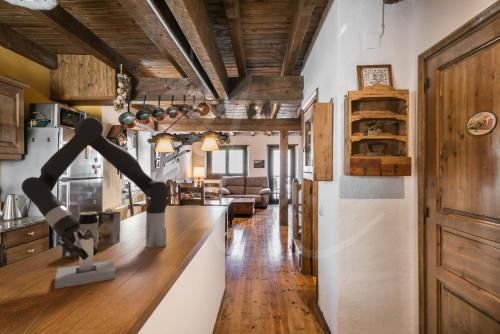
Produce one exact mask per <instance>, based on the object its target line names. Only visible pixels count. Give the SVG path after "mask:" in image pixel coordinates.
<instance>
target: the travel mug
mask: <svg viewBox="0 0 500 334" xmlns="http://www.w3.org/2000/svg"><path fill="white" fill-rule="evenodd" d="M97 214H98V212H97V211H82V212H80V213H79V219H78V222H79V223H80V228H81V229H82V230H83V231H87V230H88V229H89V230H91V232H92V234H93V236H94V238H95V242H94V246H95V248H96V249H97V250H98V225H99V218H98V217H97Z"/></svg>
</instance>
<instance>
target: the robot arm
mask: <svg viewBox="0 0 500 334" xmlns="http://www.w3.org/2000/svg"><path fill="white" fill-rule="evenodd" d="M73 131H74V135H73V136H72V137H71V139H69V140H68V141H67V142H66V143H65V144H64V145H63V146H62V147H61V148H59V149H58V150H57V151H56V152H55V153H54V154H53V155H51V156H50V158H49V159H47V161H46V162H45V163H44V164H43V165H42V167H41V168H40V175H39V177H37V176H30V177H27V178H25V180H23V181H22V184H21V191H22V192H23V193H24V195H26V197H27V198H28V199H29V200H30V201H31V202H32V203H33V204H34V205H35V206H36V208H37V209H38V211H39V213H41V215H42V216H43V217H44V219H45V220H46V222H47V223H48V225H50V227H51V229H53V231H54V232H55V233H56V234H57V235H58V237H59V238H60V239H59V240H58V241H57V244H58V245H59V246H61V247H63V248H65V249H66V250H67V251H68V252H70V253H72V252H75V253H77V254H78V255H77V256H78V257H79V256H80V257H81V258H82V259H83V260H85V259H86V258H87V257H88V256H89V255H88V254H87V253H86V251H85V250H84V249H83V248H82V247H81V245H80V239H83V238H84V234H85V233H89V238H94V236H93V234H92V232H91V230H89V229H88V230H87V231H83V230H82V229H81V228H80V223H79V220H78V219H77V218H76V217H75V216H74V214H73V213H72V212H71V211H70V210H69V209H68V208H67V207H66V206H65V205H64V203H62V201H61V200H60V199H59V198H57V197H56V195H55V194H54V193H53V190H54V188H55V186H56V184H57V183H58V180H59V178H61V176H62V175H63V174H64V173H65V172H66V170H68V168H69V167H70V166H71V165H72V163H73V162H74V161H75V160H76V159H77V158H78V156H80V155H81V154H82V152H83V151H84V150H85V149H86V148H87V147H88V146H89V147H91V148H92V149H94V150H95V151H96V152H97V153H98V154H100V156H102V158H104V159H105V160H106V161H107V162H108V163H110V164H111V165H112V166H113V167H114V168H115V169H116V170H117V171H118V172H119V173H120V174H122V175H123V176H125V178H127V179H128V180H130V181H131V182H132V183H134V184H135V185H136V187H138V188H139V190H140V191H141V192H142V193H143V194H144V195H145V196H146V197H148V198H149V204H148V206H147V207H146V208H145V210H146V216H145V217H146V219H145V223H146V225H145V226H146V227H145V248H148V249H157V248H163V247H166V246H167V226H166V208H167V206H168V192H169V191H168V187H167V184H166V183H165V182H163V181H159V180H155V179H153V178H151V177H150V176H149V174H147V173H145V171H144V170H143V168H142V166H141V164H140V163H139V161H138V160H137V159H136V158H135V156H133V155H132V154H130V152H128V151H127V150H126V149H124V148H122V147H120V145H117V144H115V143H114V142H112V141H110V140H109V139H107V138H106V137H105V136H104V135H103V131H104V125H103V123H102V122H101V121H100V120H99V119H97V118H96V117H86V118H83V119H81V120H79V121H78V122H76V123H75V125H74V127H73ZM94 242H95V238H94ZM68 246H70V247H71V248H69V247H68ZM98 253H99V251H98V248H97V249H96V248H95V246H94V245H93V257H94V256H96V255H97V254H98Z"/></svg>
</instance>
